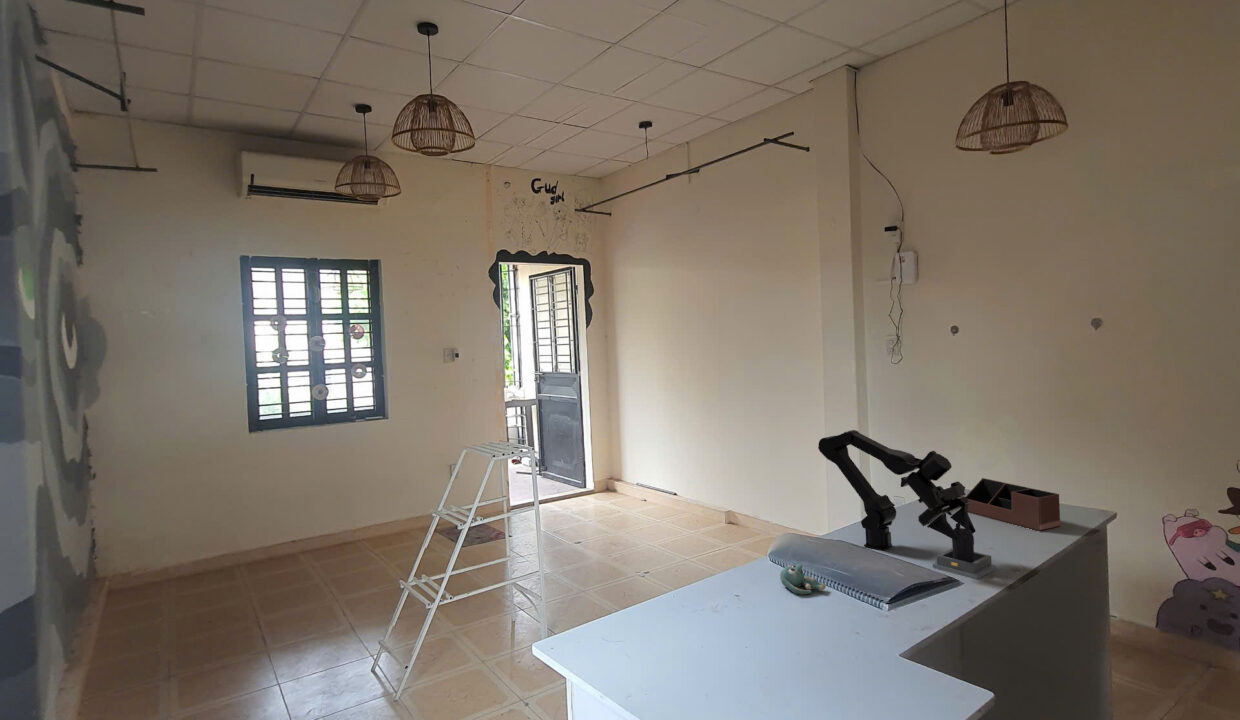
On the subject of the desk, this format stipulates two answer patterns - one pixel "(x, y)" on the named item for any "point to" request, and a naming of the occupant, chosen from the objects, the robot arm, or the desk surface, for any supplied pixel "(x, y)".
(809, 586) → the stuffed animal
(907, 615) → the desk surface
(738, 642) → the desk surface
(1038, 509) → the desk organizer
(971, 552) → the two-way radio
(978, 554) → the charging cradle
